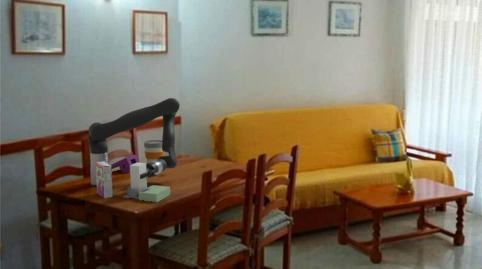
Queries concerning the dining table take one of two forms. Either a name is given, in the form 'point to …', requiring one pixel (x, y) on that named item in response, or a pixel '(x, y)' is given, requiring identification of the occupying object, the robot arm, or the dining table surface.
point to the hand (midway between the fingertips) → (135, 176)
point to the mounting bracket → (126, 163)
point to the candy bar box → (104, 179)
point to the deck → (149, 193)
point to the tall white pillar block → (138, 176)
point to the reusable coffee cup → (153, 150)
